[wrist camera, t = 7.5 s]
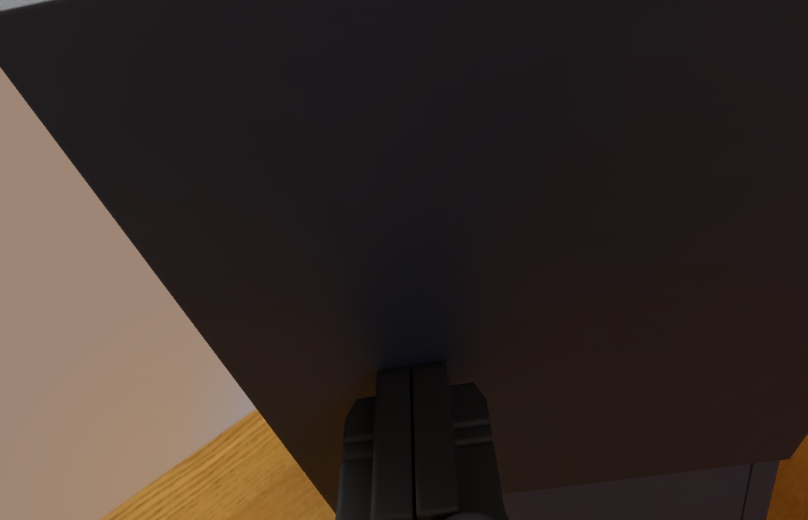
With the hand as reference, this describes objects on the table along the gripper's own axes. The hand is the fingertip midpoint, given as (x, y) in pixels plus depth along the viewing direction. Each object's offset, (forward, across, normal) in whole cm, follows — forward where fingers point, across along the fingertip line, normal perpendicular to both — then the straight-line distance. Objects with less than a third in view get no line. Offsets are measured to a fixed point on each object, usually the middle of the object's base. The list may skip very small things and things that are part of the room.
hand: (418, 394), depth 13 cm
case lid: (+1, -3, -1) cm, 3 cm away
